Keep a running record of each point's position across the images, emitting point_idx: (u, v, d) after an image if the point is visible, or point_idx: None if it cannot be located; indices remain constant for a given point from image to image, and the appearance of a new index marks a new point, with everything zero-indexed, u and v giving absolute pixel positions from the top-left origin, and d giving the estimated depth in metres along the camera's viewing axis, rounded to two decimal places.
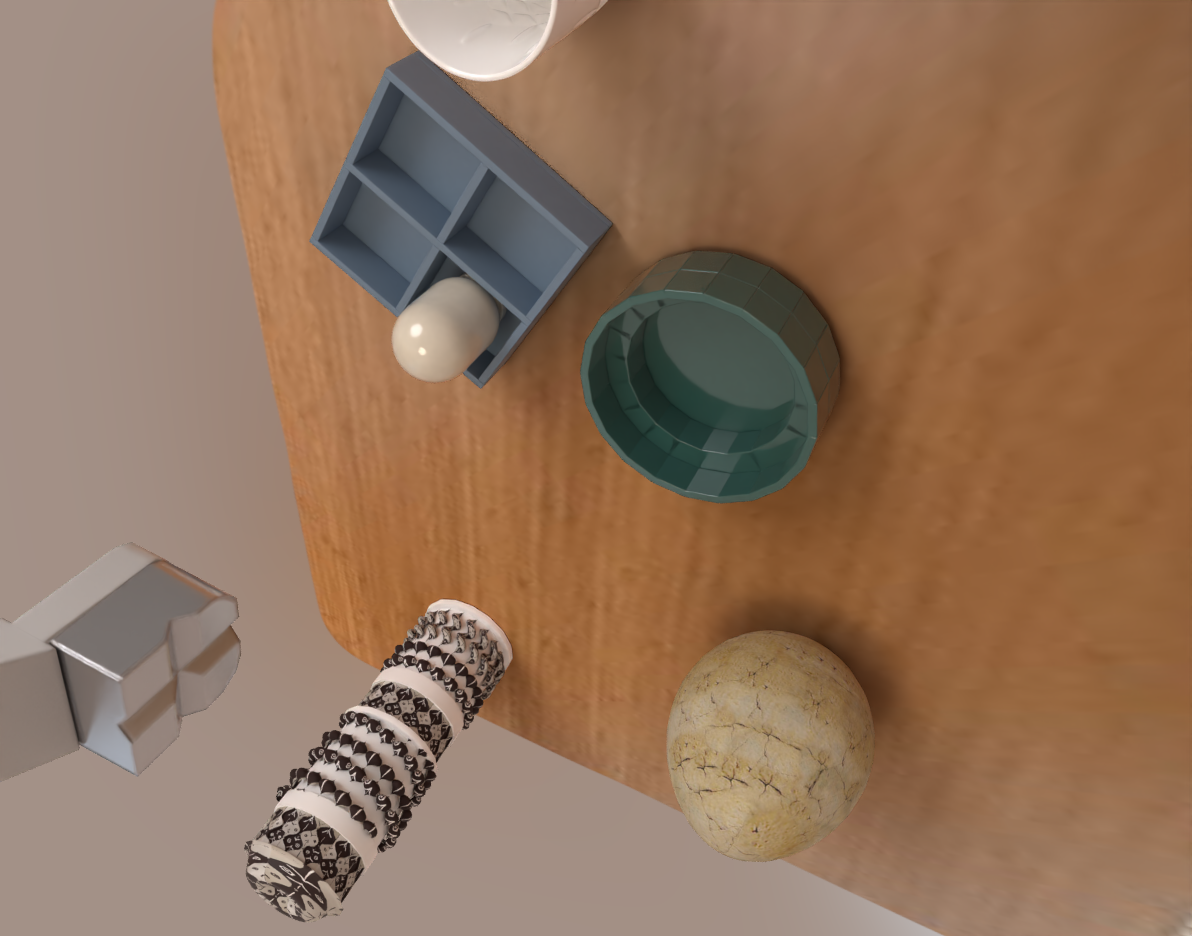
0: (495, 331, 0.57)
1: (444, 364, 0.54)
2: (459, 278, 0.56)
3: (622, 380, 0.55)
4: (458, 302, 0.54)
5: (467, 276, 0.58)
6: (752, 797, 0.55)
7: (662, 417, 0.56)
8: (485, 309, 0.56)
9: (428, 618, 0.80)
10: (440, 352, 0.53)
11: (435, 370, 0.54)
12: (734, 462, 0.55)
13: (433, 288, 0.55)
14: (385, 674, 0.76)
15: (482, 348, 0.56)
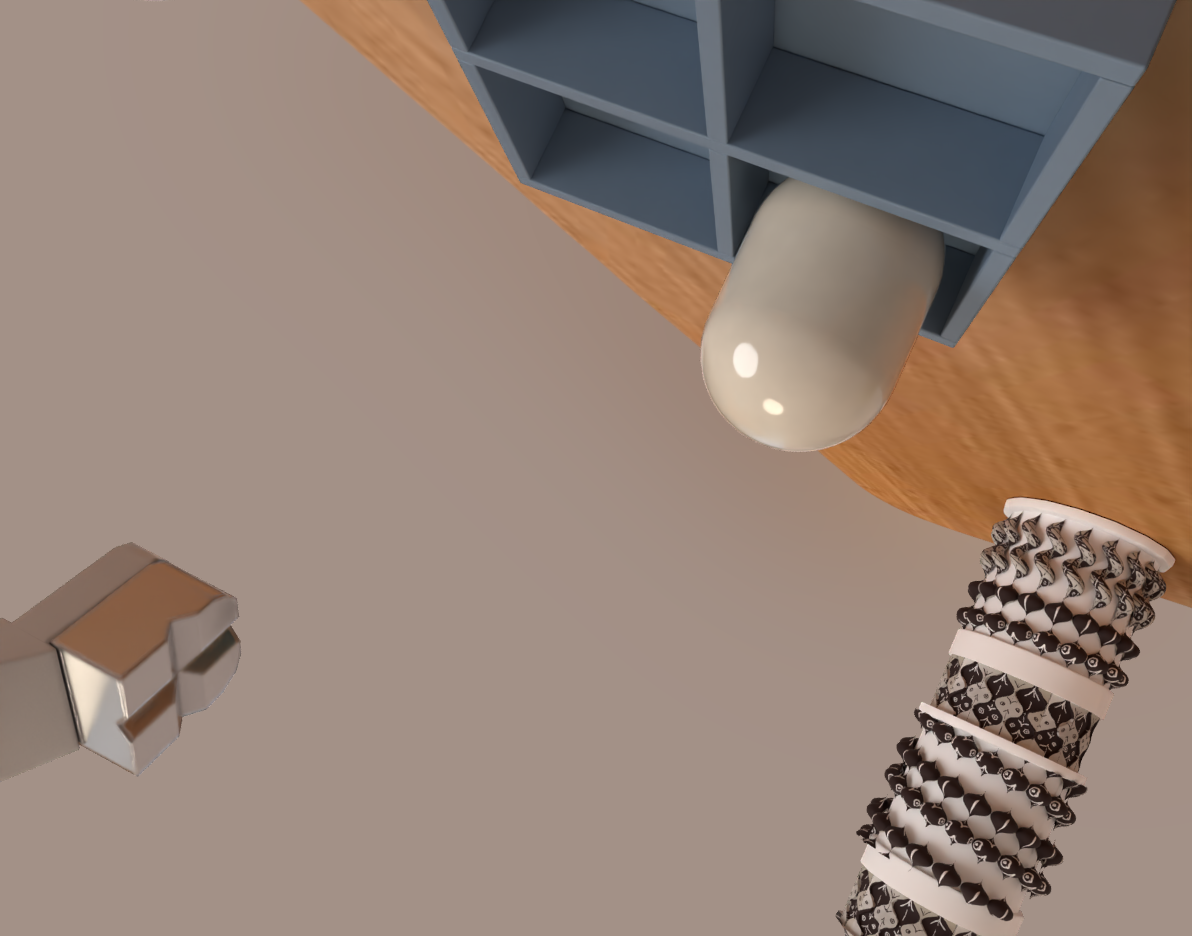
0: (936, 269, 0.23)
1: (831, 430, 0.22)
2: (805, 184, 0.23)
3: None
4: (814, 271, 0.22)
5: None
6: None
7: None
8: (891, 246, 0.22)
9: (1008, 535, 0.50)
10: (810, 417, 0.22)
11: (817, 444, 0.23)
12: None
13: (753, 239, 0.23)
14: (963, 645, 0.50)
15: (915, 330, 0.23)
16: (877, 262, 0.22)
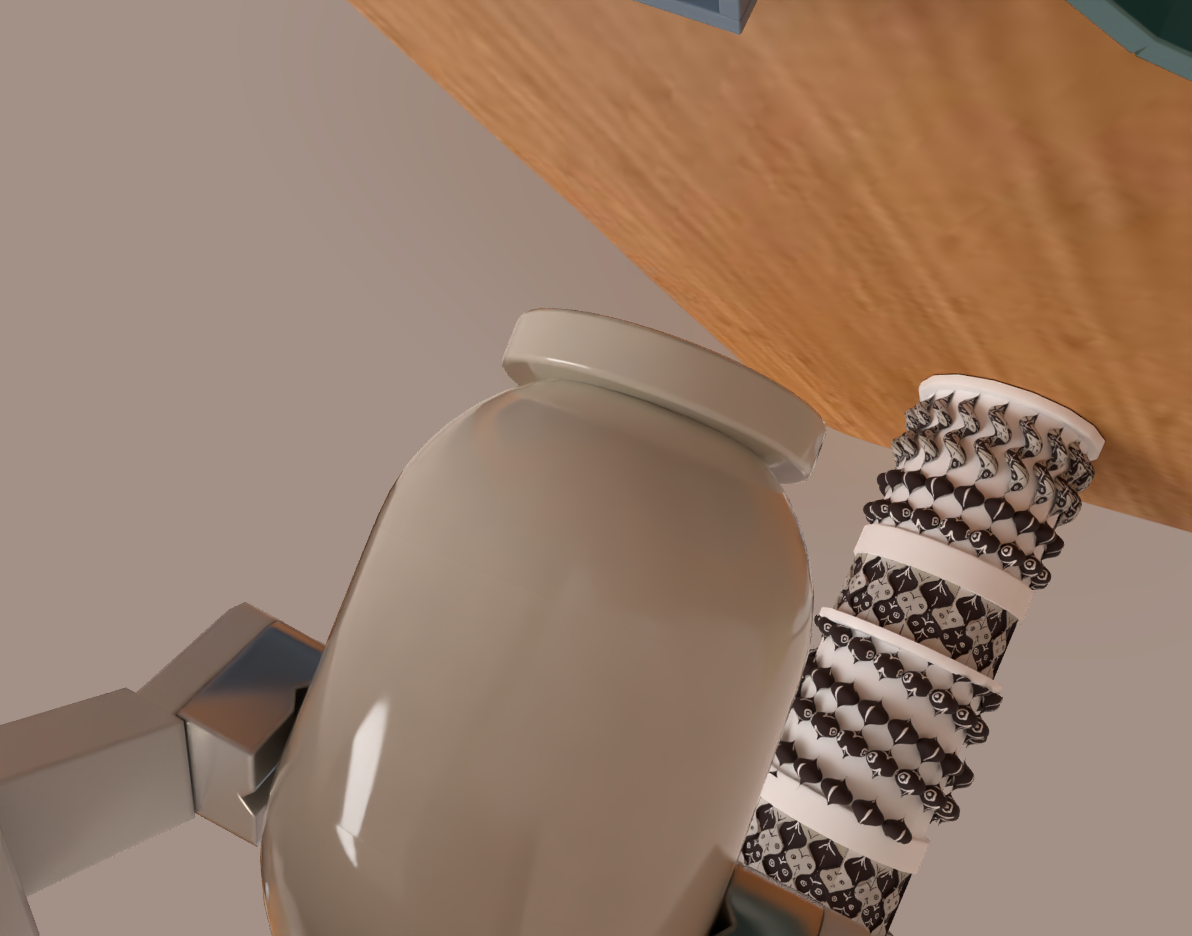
0: (785, 659, 0.09)
1: None
2: (445, 476, 0.09)
3: None
4: (450, 735, 0.08)
5: (524, 363, 0.10)
6: None
7: None
8: (649, 653, 0.08)
9: (918, 418, 0.45)
10: None
11: None
12: None
13: (349, 601, 0.10)
14: (866, 540, 0.44)
15: (746, 808, 0.09)
16: (614, 701, 0.08)
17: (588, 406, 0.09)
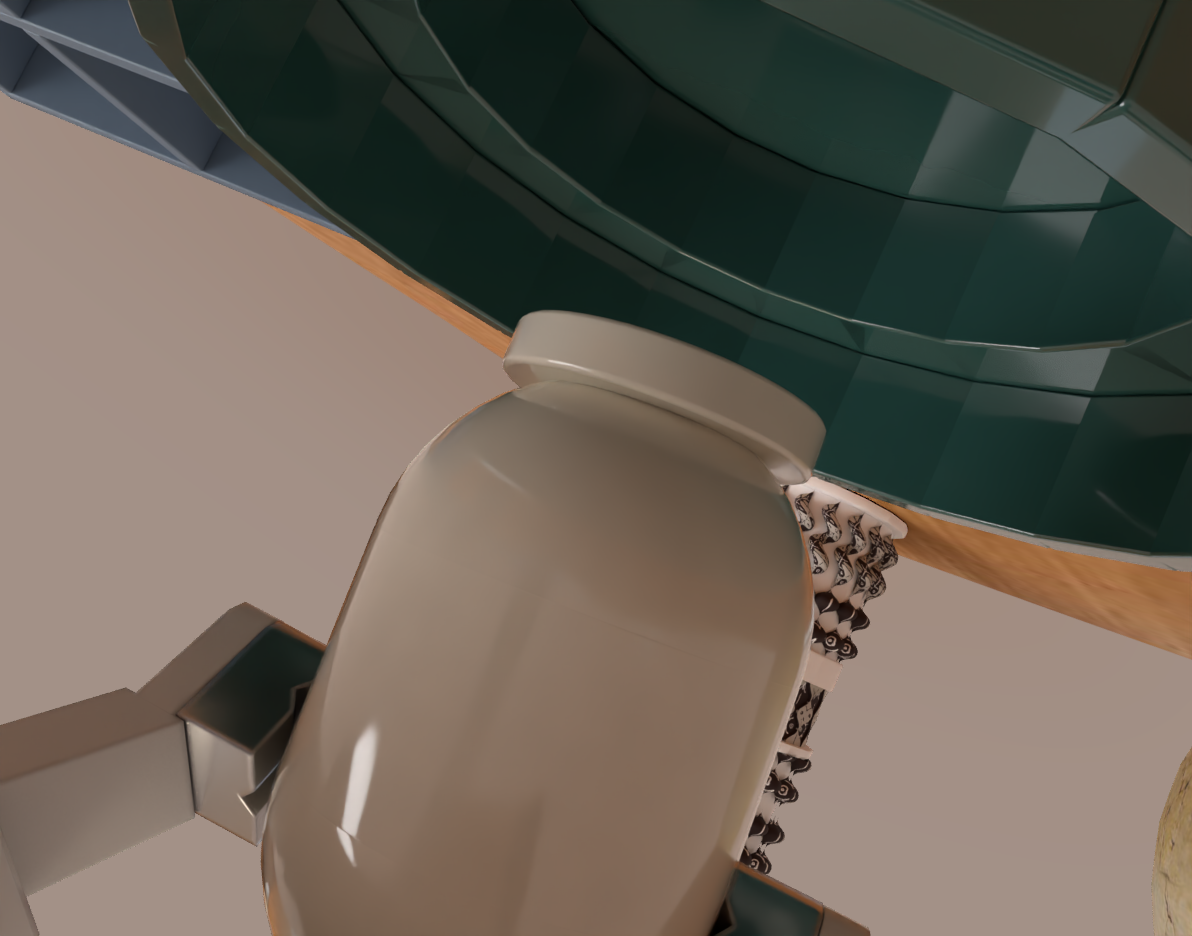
0: (786, 661, 0.09)
1: None
2: (446, 478, 0.09)
3: (580, 204, 0.16)
4: (451, 737, 0.08)
5: (525, 365, 0.10)
6: None
7: (784, 252, 0.16)
8: (650, 656, 0.08)
9: None
10: None
11: None
12: (1083, 371, 0.13)
13: (349, 603, 0.10)
14: None
15: (747, 810, 0.09)
16: (615, 703, 0.08)
17: (589, 408, 0.09)
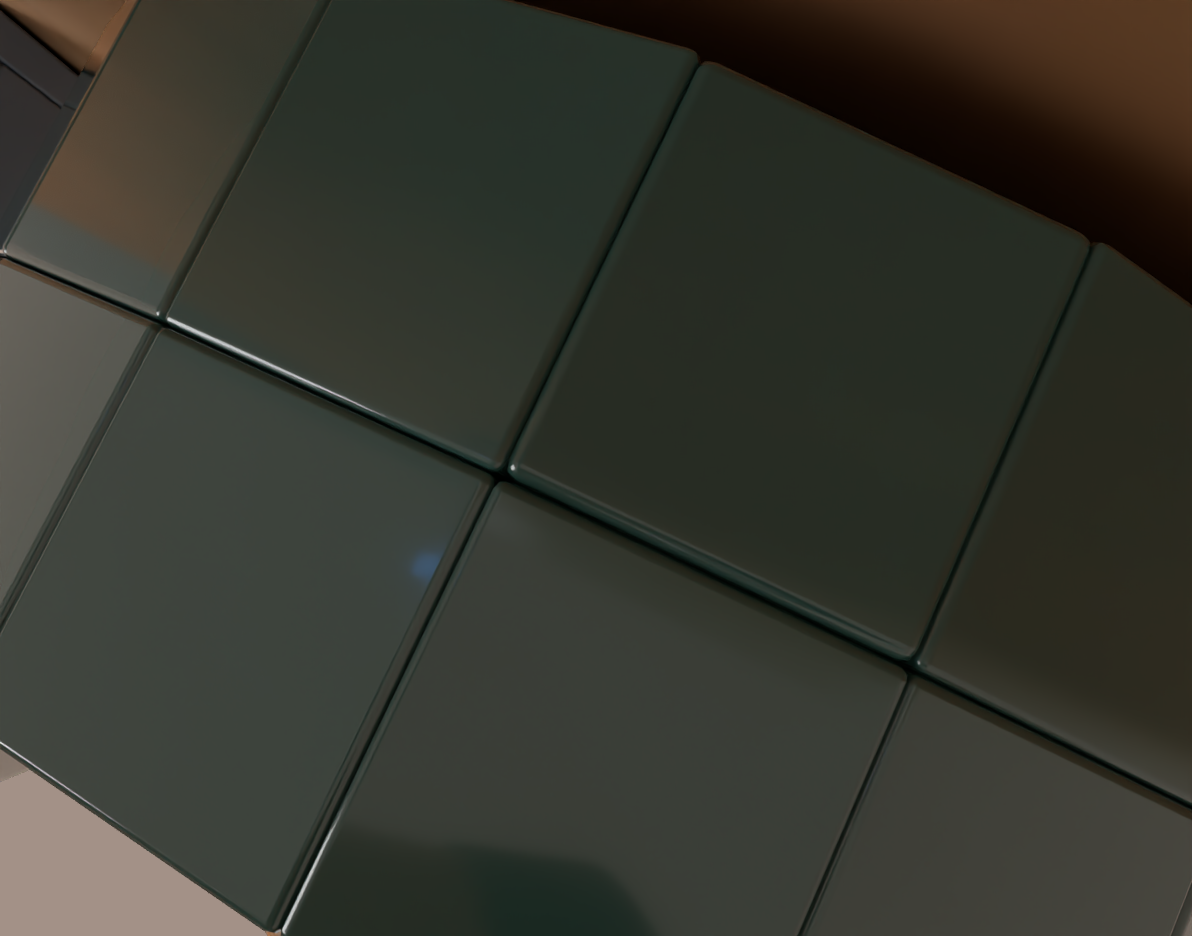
0: None
1: None
2: None
3: None
4: None
5: None
6: None
7: None
8: None
9: None
10: None
11: None
12: None
13: None
14: None
15: None
16: None
17: None
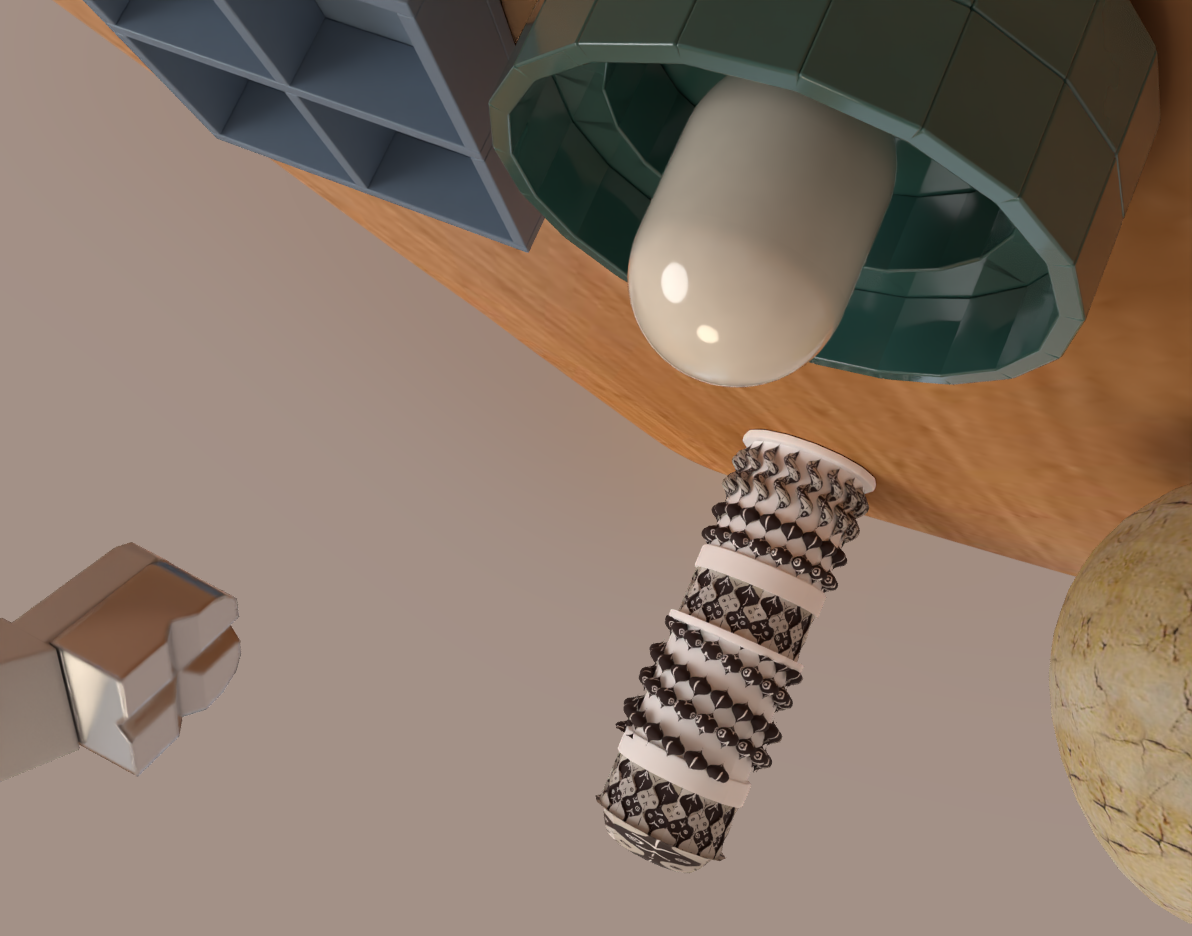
0: (887, 173, 0.20)
1: (774, 356, 0.20)
2: (738, 80, 0.20)
3: None
4: (749, 171, 0.19)
5: None
6: None
7: None
8: (835, 142, 0.19)
9: (739, 462, 0.59)
10: (749, 338, 0.19)
11: (759, 374, 0.20)
12: (963, 280, 0.24)
13: (682, 145, 0.20)
14: (701, 556, 0.58)
15: (866, 243, 0.20)
16: (820, 160, 0.19)
17: None
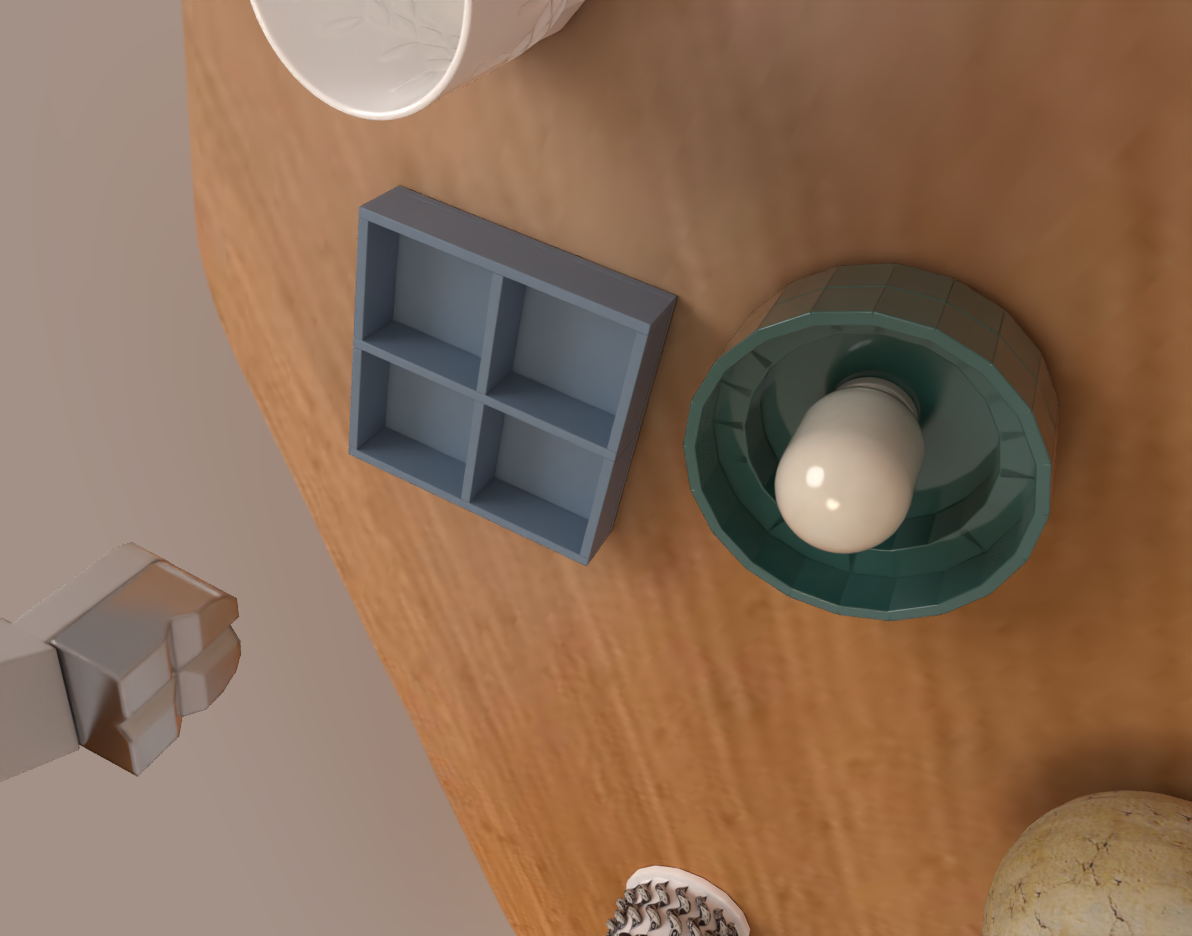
0: (924, 449, 0.36)
1: (881, 510, 0.33)
2: (845, 388, 0.36)
3: (753, 489, 0.40)
4: (866, 415, 0.34)
5: None
6: None
7: None
8: (905, 417, 0.35)
9: (627, 898, 0.62)
10: (872, 492, 0.33)
11: (869, 525, 0.33)
12: (943, 553, 0.38)
13: (815, 411, 0.36)
14: None
15: (918, 477, 0.35)
16: (900, 421, 0.35)
17: None
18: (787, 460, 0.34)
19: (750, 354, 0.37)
